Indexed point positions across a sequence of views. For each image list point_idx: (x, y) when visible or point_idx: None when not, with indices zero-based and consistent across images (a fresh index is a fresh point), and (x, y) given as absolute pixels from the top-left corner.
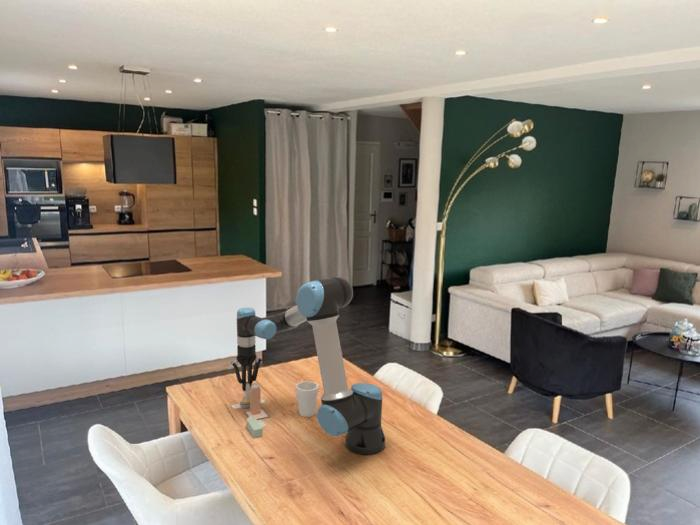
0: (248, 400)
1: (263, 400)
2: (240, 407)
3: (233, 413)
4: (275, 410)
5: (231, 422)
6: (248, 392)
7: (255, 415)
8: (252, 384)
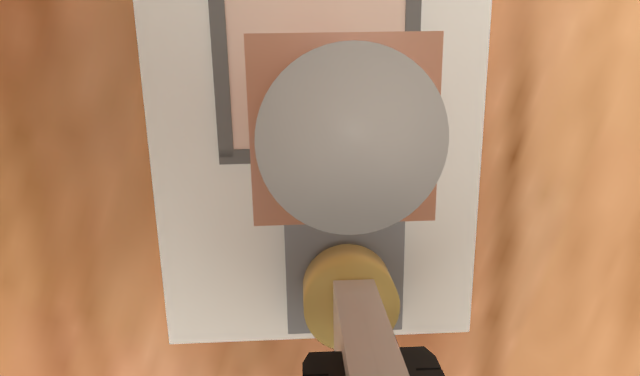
0: (351, 258)
1: (167, 313)
2: (410, 261)
3: (488, 204)
4: (105, 94)
5: (569, 39)
6: (357, 317)
7: (338, 27)
8: (402, 193)
